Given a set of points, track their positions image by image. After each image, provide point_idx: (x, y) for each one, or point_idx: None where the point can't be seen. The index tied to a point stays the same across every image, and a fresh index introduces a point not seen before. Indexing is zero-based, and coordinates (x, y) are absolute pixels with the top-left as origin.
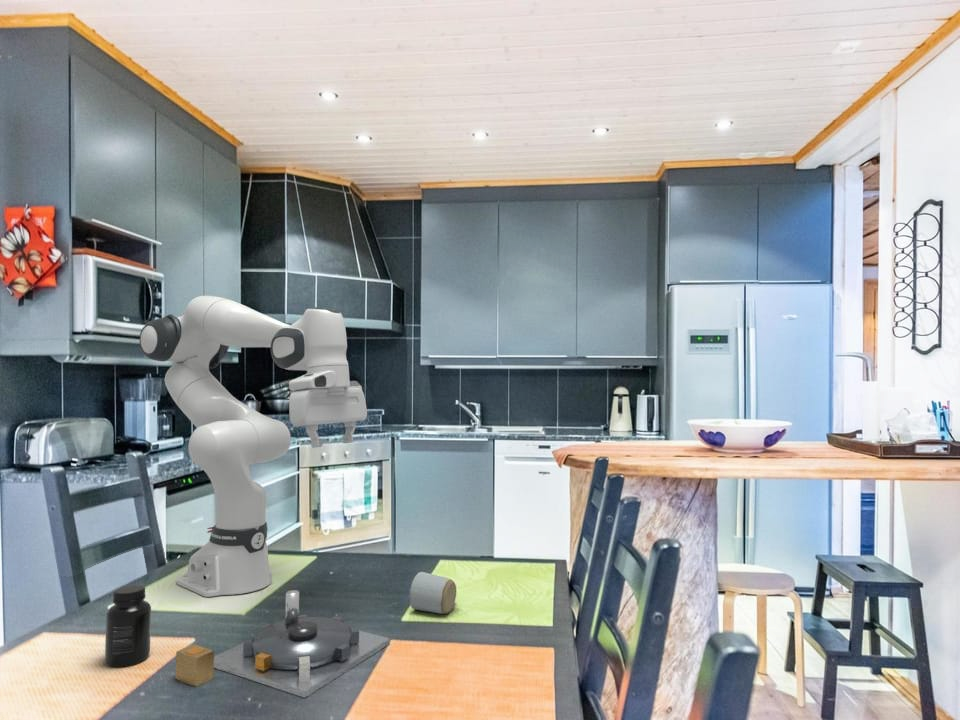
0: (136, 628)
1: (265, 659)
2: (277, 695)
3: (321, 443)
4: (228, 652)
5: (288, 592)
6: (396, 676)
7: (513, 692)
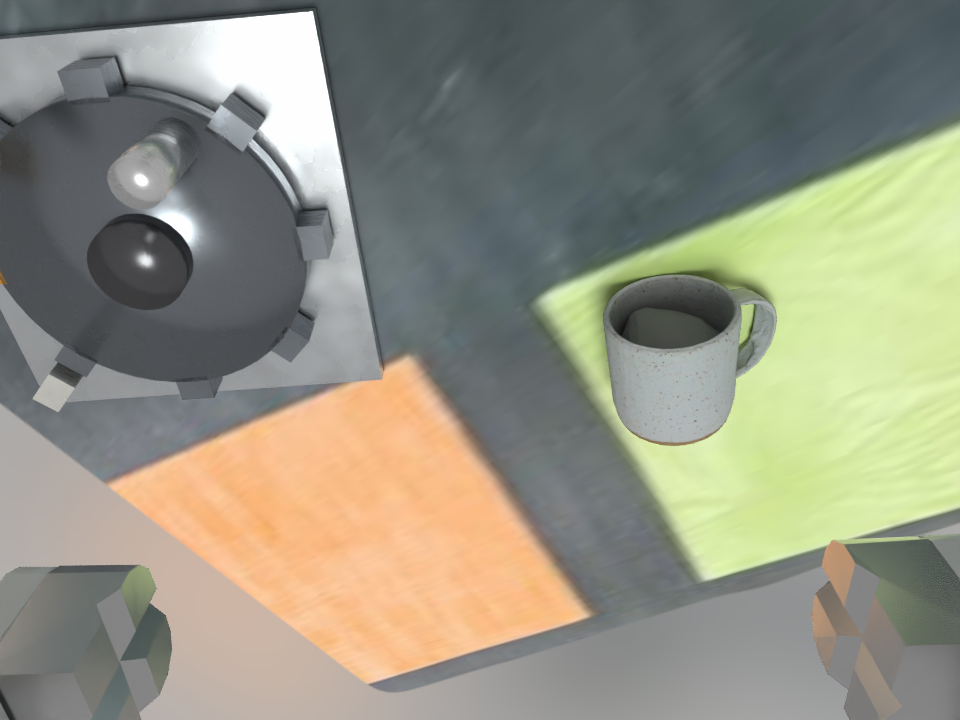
0: None
1: None
2: (7, 342)
3: (133, 698)
4: None
5: (122, 171)
6: (270, 472)
7: (375, 631)
